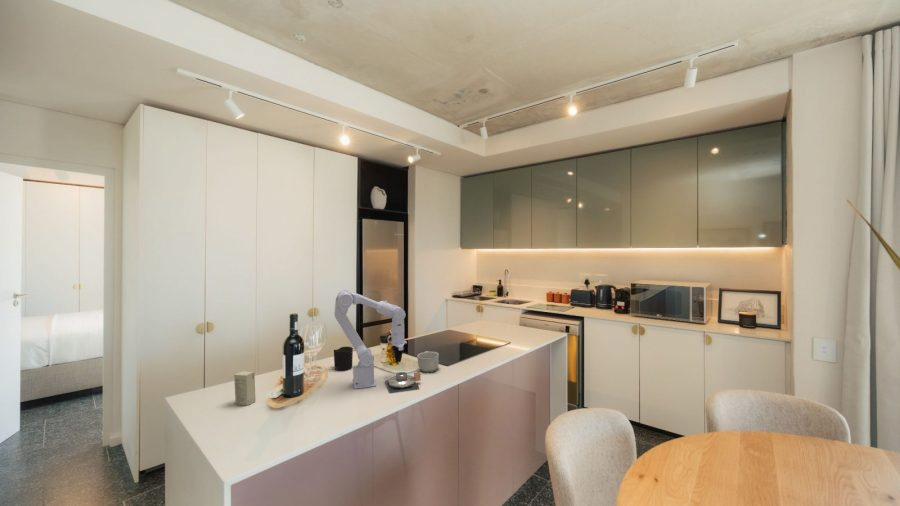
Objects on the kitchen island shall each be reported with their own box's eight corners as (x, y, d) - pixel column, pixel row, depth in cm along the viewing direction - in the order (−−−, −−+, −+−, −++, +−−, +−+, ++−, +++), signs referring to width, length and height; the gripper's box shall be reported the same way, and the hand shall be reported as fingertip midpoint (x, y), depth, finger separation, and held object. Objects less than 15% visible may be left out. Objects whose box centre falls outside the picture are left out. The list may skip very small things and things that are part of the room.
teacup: (438, 373, 174) (438, 357, 174) (416, 373, 174) (416, 357, 174) (439, 364, 188) (439, 349, 188) (419, 364, 188) (419, 349, 188)
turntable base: (389, 393, 152) (389, 390, 151) (385, 382, 164) (385, 379, 164) (419, 389, 156) (419, 386, 156) (412, 378, 168) (412, 376, 168)
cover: (397, 382, 156) (397, 375, 156) (395, 378, 161) (395, 372, 161) (408, 380, 158) (408, 374, 158) (405, 377, 163) (405, 370, 163)
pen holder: (334, 366, 186) (333, 347, 186) (352, 364, 189) (352, 345, 189) (333, 372, 177) (333, 352, 177) (353, 370, 180) (353, 350, 180)
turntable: (389, 389, 152) (389, 381, 152) (385, 379, 163) (385, 372, 163) (423, 384, 157) (423, 377, 157) (417, 375, 168) (416, 368, 168)
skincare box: (256, 401, 145) (255, 371, 144) (247, 406, 141) (246, 375, 140) (243, 399, 146) (242, 370, 146) (234, 404, 142) (233, 374, 142)
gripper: (409, 335, 161) (409, 365, 161) (403, 328, 175) (403, 356, 175) (394, 337, 159) (394, 367, 159) (389, 329, 172) (389, 357, 173)
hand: (398, 361), depth 167 cm, fingers closed
